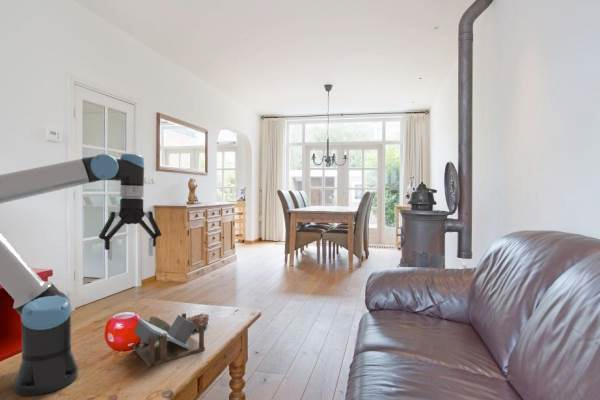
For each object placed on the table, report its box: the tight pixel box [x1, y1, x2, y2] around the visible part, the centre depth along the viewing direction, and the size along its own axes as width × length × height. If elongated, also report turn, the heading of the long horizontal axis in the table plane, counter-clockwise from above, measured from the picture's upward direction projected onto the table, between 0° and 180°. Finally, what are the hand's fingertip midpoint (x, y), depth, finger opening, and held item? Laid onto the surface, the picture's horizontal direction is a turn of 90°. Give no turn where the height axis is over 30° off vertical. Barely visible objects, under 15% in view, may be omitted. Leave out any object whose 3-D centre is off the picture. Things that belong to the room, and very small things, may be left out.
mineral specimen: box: [186, 313, 210, 332], centre depth 146 cm, size 12×8×7 cm
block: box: [167, 314, 196, 344], centre depth 129 cm, size 6×6×7 cm
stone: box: [148, 315, 172, 332], centre depth 140 cm, size 10×7×10 cm
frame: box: [133, 312, 206, 367], centre depth 126 cm, size 19×18×9 cm
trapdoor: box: [133, 318, 191, 349], centre depth 124 cm, size 16×13×4 cm
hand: (131, 257), depth 128 cm, fingers open, 13 cm apart
